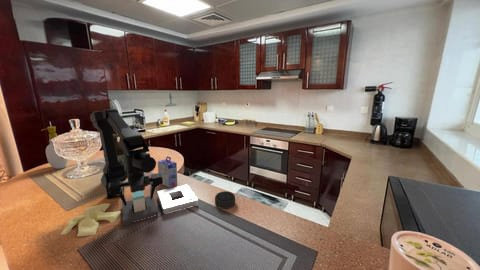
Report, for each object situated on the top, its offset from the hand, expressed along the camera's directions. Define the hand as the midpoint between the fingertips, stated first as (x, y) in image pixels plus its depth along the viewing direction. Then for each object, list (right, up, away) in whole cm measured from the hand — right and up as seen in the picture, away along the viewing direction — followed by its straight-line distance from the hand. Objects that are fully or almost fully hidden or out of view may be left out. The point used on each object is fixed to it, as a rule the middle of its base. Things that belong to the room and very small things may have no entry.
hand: (138, 202), depth 80 cm
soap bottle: (-74, +7, +44) cm, 86 cm away
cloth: (-16, -6, -6) cm, 18 cm away
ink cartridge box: (+3, +1, +25) cm, 25 cm away
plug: (0, -4, +1) cm, 4 cm away
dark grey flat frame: (0, -4, +1) cm, 4 cm away
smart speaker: (+35, -3, +7) cm, 35 cm away
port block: (+13, -2, +8) cm, 15 cm away
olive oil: (-27, +3, +31) cm, 41 cm away
